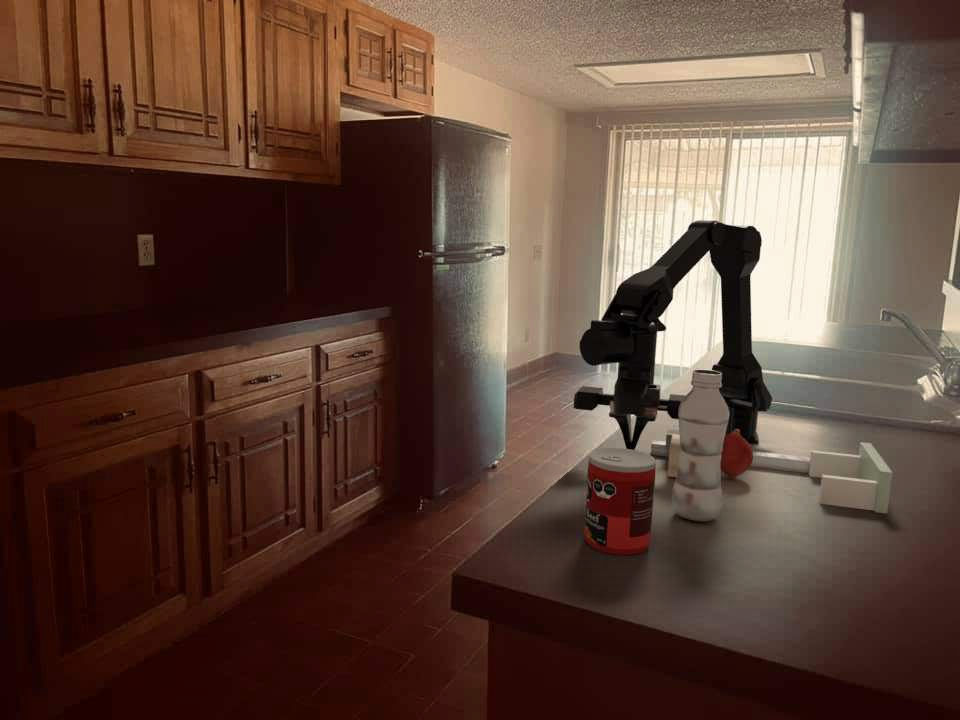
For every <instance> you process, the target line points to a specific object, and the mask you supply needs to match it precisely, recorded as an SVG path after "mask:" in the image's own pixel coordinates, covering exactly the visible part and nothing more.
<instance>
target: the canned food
mask: <svg viewBox="0 0 960 720" xmlns="http://www.w3.org/2000/svg"><path fill="white" fill-rule="evenodd" d="M656 463H657V462H656V458H655V457H653V455H651V454H648V453H646V452H643V451H641V450H640V451H639V450H636V449H635V450H631V449H626V448H622V447H606V448H605V447H604V448H599V449H595V450H593V451H591V452H590V453H589V456H588V464H587V477H586V478H587V481H586V496H585V497H586V498H585V514H584V515H585V516H584V517H585V518H584V536H585V540H586V543H587V544H588V545H589V546H590V547H592V548H593V549H595V550H597V551H600V552H603V553H606V554H610V555H615V556H616V555H617V556H631V555H636V554H640V553H642V552H644V551H646V550H647V549H648V546H649V544H650V542H651V535H652V520H653V510H654V509H653V508H654V495H655V485H656V484H655V482H656V469H657V468H656V466H657V464H656Z"/></svg>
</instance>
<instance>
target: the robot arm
mask: <svg viewBox="0 0 960 720" xmlns="http://www.w3.org/2000/svg"><path fill="white" fill-rule="evenodd" d="M762 242H763V240H762V235H761V232H760V231H759V230H758V229H757V228H756V227H755V226H754V225H731V224H727V223H723V222H720V221H718V220H695V221H693V222H691V223H690V224H689V225H688V227H687V230H686V231H685V232H684V233H683V234H682V235H681V236H680V237H679V239H677V240H676V241H675V242H674V243H673V245H671V246H670V247H669V249H668V250H666V252H665V253H663V255H661V256H660V258H658V259H657V260H656V262H654V263H653V264H652V265H651V266H650V267H648V268H647V269H643V270H641V271H639V272H636V273H634V274H632V275H631V276H629V277H627V279H625V280H623V281H622V282H620V284H619V286H618V287H617V289H616V293H615V294H614V296H613V298H612V300H611V302H610V303H609V305H608V306H607V309H606V310H605V312H604V313H603V315H602V317H601V319H600V320H597V319H592V320H590V328H587V330H585V332H584V333H583V334H582V336H581V339H580V340H579V352H580V355H581V357H582V360H584V362H585V363H586V364H587V365H589V366H595V367H597V366H602V365H603V366H604V365H611V364H618V366H617V379H616V381H615V383H614V387H613V388H614V389H613V394H610V393H604V388H603V387H597V386H586V385H585V386H584V385H582V386H581V387H580V388H578V390H577V391H576V392H575V393H574V396H573V397H574V398H573V409H576V410H582V411H594V410H595V409H596V408H597V407H598V406H599V405H600V406H608V407H609V409H610V410H609V413H608V417H609V418H613V419H615V420H616V423H617V424H618V427H619V429H620V432H621V434H622V437H623V438H622V439H623V442H624V445H625V449H631V450H636V447H637V445H638V443H639V439H640V437H641V435H642V434H643V433H642V432H643V431H644V429H645V428H646V426H647V424H648V423H649V422H655V421H656V419H657V416H658V411H660V412H667V415H668V416H669V417H670V419H673V420H679V416H678V408H679V406H680V403H681V401H682V400H683V399H684V397H685V396H686V395H687V394H686V395H685V394H684V395H682V394H671V393H670V394H669V397H668V399H665V398H663V399H662V398H661V384H655V383H654V382H655V369H656V368H655V367H656V356H657V355H656V354H657V342H658V341H657V340H658V339H657V338H658V332H665V331H666V330H667V326H666V325H665V324H664V323H663V322H662V321H661V320H660V317H662V316H663V314H664V313H665V311H666V310H667V309H668V307H669V306H670V304H671V303H672V301H673V299H674V290H675V288H676V286H677V285H678V284H679V283H680V282H681V281H682V280H683V279H685V276H687V275H688V273H689V272H690V271H691V270H692V269H693V268H694V267H695V266H696V265H697V264H699V262H700V261H701V260H702V259H703V258H704V257H705V256H706V255H707V253H708V252H709V256H710V257H709V258H710V263H711V265H712V266H713V268H714V269H715V271H716V272H717V273H718V275H719V277H720V293H721V294H720V295H721V323H722V324H721V326H722V329H721V332H722V356H721V357H720V359H719V360H718V362H717V363H716V364H715V363H714V364H713V365H712V367H711V370H713V371H718V372H721V373H722V379H721V383H722V387H721V388H719V392H720V394H721V396H722V397H723V399H724V400H725V402H726V404H727V406H728V410H729V420H728V424H727V428H726V433H725V436H726V435H728V434H730V433H731V432H733V431H734V430H735V429H739V430H740V435H741V436H742V437H743V438H744V439H745V440H746V441H747V442H748V443H753V444H759V442H760V441H759V434H758V432H757V428H758V420H759V419H758V415H759V412H767V411H768V410H769V409H771V406H772V402H773V397H772V395H771V393H770V391H769V389H768V387H767V386H766V384H765V382H764V377H763V369H762V366H761V364H760V362H759V361H758V360H757V358H756V357H755V355H754V353H753V345H752V344H753V340H752V339H753V338H752V331H753V330H752V296H751V295H752V294H751V293H752V291H751V286H752V285H751V283H752V282H751V275H752V273H753V271H754V270H755V267H756V266H757V265H758V263H759V261H760V259H761V248H762V244H763V243H762ZM632 415H634V416H635V422H634V423H635V424H634V428H633V433H632Z"/></svg>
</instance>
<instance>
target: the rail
mask: <svg viewBox="0 0 960 720" xmlns="http://www.w3.org/2000/svg"><path fill="white" fill-rule="evenodd" d="M651 441H652V442H651V446H650V455H651V456H656V457H657V456H659V457H666V458H669V453H670V449H666V448H665V447H666V440H664V441H663V440H658V439H657V440H656V439H655V440H654V439H652V440H651ZM752 451H753V461H752V464H751V465H750V467H749V468H759V469H760V468H761V469H769V470H778V471H786V472H794V473H801V474H802V473H803V474H808V473H809V465H810V457H808V456H801V455H792V454H782V453H773V452H763V451H755V450H752Z"/></svg>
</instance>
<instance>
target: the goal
mask: <svg viewBox="0 0 960 720" xmlns="http://www.w3.org/2000/svg"><path fill="white" fill-rule="evenodd" d="M858 450H859V451H858V454H849V453H839V452H831V451H824V450H823V451H822V450H814V449H811V450H810V465H809V473H807V474H808V476H809V477H812V478H821V481H820V490H819V499H818V502H819V504H820V505H827V506H834V507H841V508H842V507H843V508H849V509H851V508H852V509H858V510H859V509H860V510H867V511H874V512H875V513H879V514H886V515H887V514H888V508H889V501H890V495H891V488H892V480H893V471H892V470H891V468H890V467H889V466H888V465H887V463H886V461H885V460H884V458H882V456H881V455H880V454H879V452H878V451H877V450H876V448H875V447H874V446H873V444H872V443H871V442H864V441H863V442H862V441H861V442H860V443H859V449H858Z"/></svg>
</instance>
